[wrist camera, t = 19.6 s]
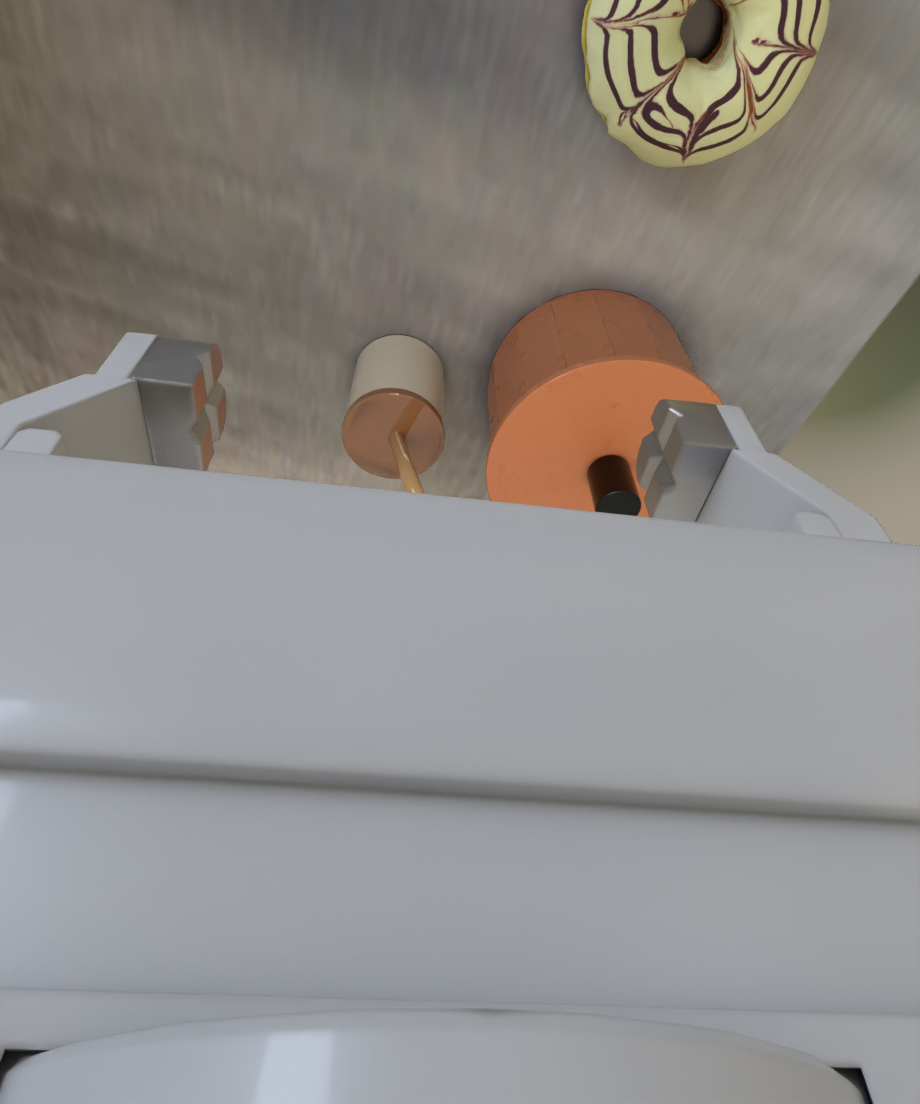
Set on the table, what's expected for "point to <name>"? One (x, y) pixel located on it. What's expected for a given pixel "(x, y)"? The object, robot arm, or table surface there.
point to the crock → (396, 410)
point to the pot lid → (585, 434)
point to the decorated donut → (697, 74)
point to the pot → (576, 342)
